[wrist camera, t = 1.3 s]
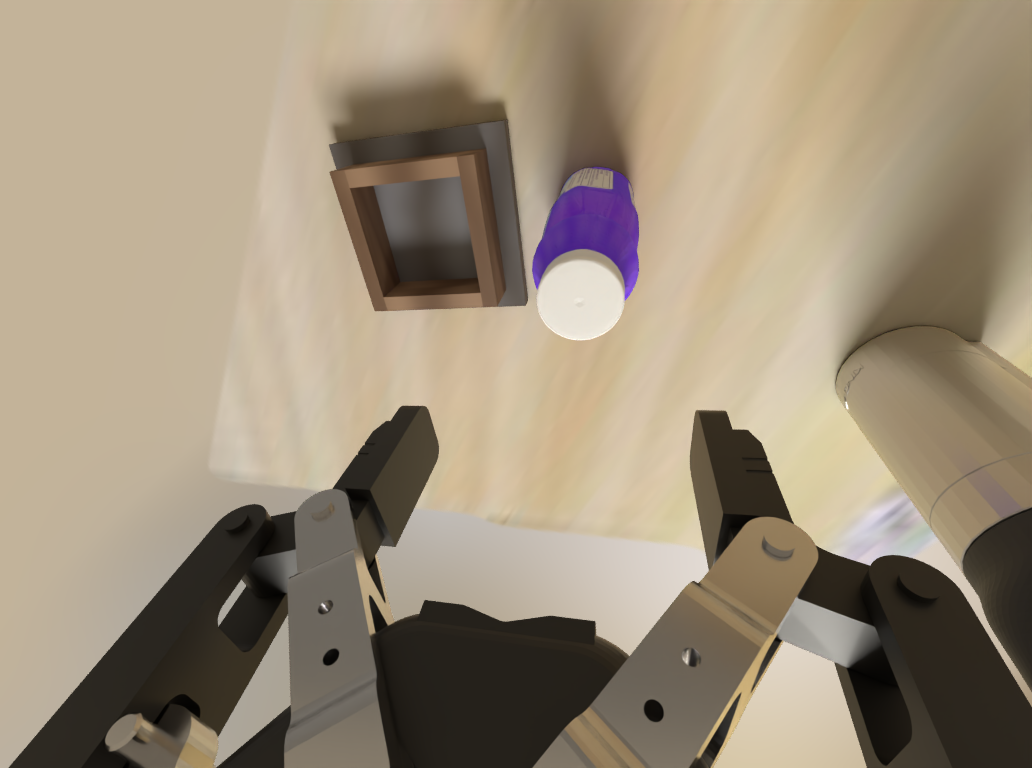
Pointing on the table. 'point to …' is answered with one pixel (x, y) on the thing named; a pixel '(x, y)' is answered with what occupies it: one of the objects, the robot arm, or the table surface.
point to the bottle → (587, 254)
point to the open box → (434, 217)
